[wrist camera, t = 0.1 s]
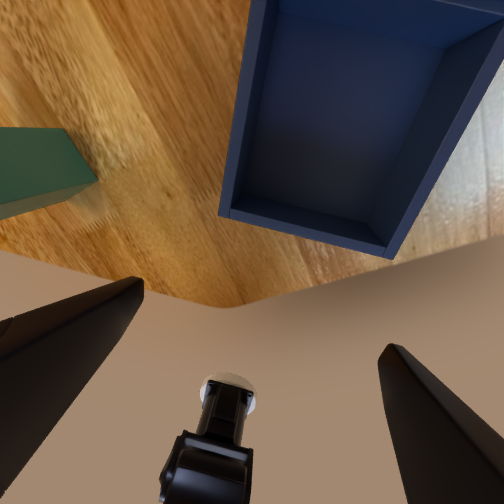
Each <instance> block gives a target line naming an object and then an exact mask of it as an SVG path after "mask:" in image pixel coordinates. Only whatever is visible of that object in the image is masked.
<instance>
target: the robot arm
mask: <svg viewBox="0 0 504 504" xmlns="http://www.w3.org/2000/svg"><path fill="white" fill-rule="evenodd" d="M143 299H144V280H143V279H142V278H138V277H135V276H130V277H127V278H124V279H122V280H119V281H116V282H113V283H110V284H107V285H104V286H101V287H98V288H95V289H93V290H90V291H87V292H84V293H81V294H78V295H75V296H72V297H69V298H66V299H64V300H61V301H58V302H55V303H52V304H49V305H46V306H43V307H40V308H37V309H34V310H32V311H28V312H26V313H23V314H20V315H17V316H15V317H14V318H13V317H11V318H8V319H5V320H2V321H0V498H1V497H2V496H3V494H4V493H5V490H7V489H8V487H9V486H10V485H11V484H12V482H13V481H14V480H15V478H16V477H17V475H18V474H19V473H20V471H21V470H22V469H23V468H24V466H25V465H26V464H27V462H28V461H29V459H30V458H31V457H32V456H33V454H34V453H35V452H36V450H37V449H38V448H39V446H40V445H41V444H42V442H43V441H44V440H45V438H46V437H47V436H48V434H49V433H50V432H51V430H52V429H53V428H54V426H55V425H56V424H57V422H58V421H59V420H60V418H61V417H62V416H63V415H64V413H65V412H66V410H67V409H68V408H69V406H70V405H71V404H72V403H73V401H74V400H75V399H76V397H77V396H78V394H79V393H80V392H81V391H82V389H83V388H84V387H85V385H86V384H87V383H88V381H89V380H90V379H91V377H92V376H93V375H94V373H95V372H96V371H97V369H98V368H99V367H100V365H101V364H102V363H103V361H104V360H105V359H106V357H107V356H108V355H109V353H110V352H111V351H112V350H113V348H114V347H115V345H116V344H117V343H118V341H119V340H120V339H121V337H122V335H123V334H124V332H125V331H126V329H127V327H128V326H129V324H130V322H131V320H132V319H133V317H134V316H135V314H136V312H137V310H138V309H139V307H140V305H141V304H142V302H143ZM378 371H379V378H380V384H381V391H382V398H383V404H384V410H385V414H386V418H387V422H388V427H389V431H390V435H391V438H392V442H393V446H394V450H395V454H396V458H397V462H398V466H399V470H400V474H401V478H402V482H403V486H404V490H405V494H406V498H407V502H408V504H504V439H503V438H502V437H501V436H500V435H499V434H498V433H497V432H496V431H494V429H492V428H491V427H490V426H489V425H488V424H487V423H486V422H485V421H484V420H483V419H481V418H480V417H479V416H478V415H477V414H476V413H475V412H474V411H473V410H472V409H471V408H470V407H468V406H467V405H466V404H465V403H464V402H463V401H462V400H461V399H460V398H459V397H458V396H456V395H455V394H454V393H453V392H452V391H451V390H450V389H449V388H448V387H447V386H445V385H444V384H443V383H442V382H441V381H440V380H439V379H438V378H437V377H436V376H435V375H433V374H432V373H431V372H430V371H429V370H428V369H427V368H426V367H425V366H423V365H422V364H421V363H420V362H419V361H418V360H417V359H416V358H415V357H414V356H413V355H412V354H410V353H409V352H408V351H407V350H406V349H405V348H404V347H403V346H400V345H396V344H393V343H390V344H388V345H387V346H386V348H385V349H384V351H383V352H382V354H381V355H380V357H379V359H378ZM253 397H254V392H253V391H251V390H247V389H243V388H240V387H236V386H233V385H229V384H225V383H222V382H218V381H214V380H208V382H207V385H206V390H205V395H204V400H203V406H202V409H203V411H202V415H201V418H200V421H199V424H198V428H197V431H196V434H194V433H190V432H188V431H187V430H183V433H182V435H181V436H177V438H176V441H175V443H174V446H173V449H172V451H171V453H170V455H169V458H168V460H167V462H166V464H165V466H164V468H163V470H162V472H161V474H160V477H159V481H160V484H161V488H160V492H161V493H160V497H159V502H162V503H163V504H249V502H250V495H251V484H252V465H253V449H252V448H249V449H248V448H245V447H241V440H242V434H243V427H244V421H245V419H246V416H247V414H248V411H249V408H250V405H251V402H252V400H253Z"/></svg>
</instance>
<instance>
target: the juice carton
mask: <svg viewBox="0 0 504 504" xmlns="http://www.w3.org/2000/svg"><path fill="white" fill-rule="evenodd" d="M97 181H98V179H97V178H96V176H95V175H94V173H93V172H92V170H91V169H90V167H89V166H88V164H87V163H86V162H85V160H84V159H83V157H82V156H81V154H80V153H79V151H78V150H77V148H76V147H75V145H74V144H73V143H72V141H71V140H70V138H69V137H68V135H67V134H66V132H65V131H64V129H62V128H23V127H0V220H3V219H6V218H9V217H13V216H16V215H19V214H23V213H26V212H29V211H33V210H36V209H40V208H43V207H46V206H50V205H53V204H56V203H60V202H63V201H65V200H67V199H69V198H70V197H72V196H74V195H75V194H77V193H79V192H80V191H82V190H84V189H85V188H87V187H89V186H90V185H92V184H94V183H95V182H97Z"/></svg>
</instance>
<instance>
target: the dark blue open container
mask: <svg viewBox="0 0 504 504" xmlns="http://www.w3.org/2000/svg"><path fill="white" fill-rule="evenodd" d="M503 60H504V0H251V5H250V12H249V18H248V25H247V31H246V38H245V44H244V50H243V57H242V63H241V70H240V76H239V82H238V89H237V95H236V102H235V108H234V115H233V121H232V127H231V134H230V140H229V147H228V153H227V159H226V166H225V172H224V179H223V185H222V192H221V198H220V204H219V211H218V216H221V217H225V218H229V219H233V220H237V221H241V222H245V223H249V224H252V225H256V226H260V227H264V228H268V229H272V230H276V231H280V232H284V233H288V234H292V235H296V236H300V237H304V238H308V239H312V240H316V241H320V242H324V243H328V244H331V245H335V246H339V247H343V248H347V249H351V250H355V251H359V252H363V253H367V254H371V255H375V256H379V257H383V258H387V259H390V260H393V259H394V257H395V256H396V254H397V252H398V250H399V248H400V247H401V245H402V243H403V241H404V239H405V237H406V236H407V234H408V232H409V230H410V228H411V227H412V225H413V223H414V221H415V219H416V217H417V216H418V214H419V212H420V210H421V208H422V207H423V205H424V203H425V201H426V199H427V198H428V196H429V194H430V192H431V190H432V188H433V187H434V185H435V183H436V181H437V179H438V178H439V176H440V174H441V172H442V170H443V168H444V167H445V165H446V163H447V161H448V159H449V158H450V156H451V154H452V152H453V150H454V149H455V147H456V145H457V143H458V141H459V139H460V138H461V136H462V134H463V132H464V130H465V129H466V127H467V125H468V123H469V121H470V119H471V118H472V116H473V114H474V112H475V110H476V109H477V107H478V105H479V103H480V101H481V100H482V98H483V96H484V94H485V92H486V90H487V89H488V87H489V85H490V83H491V81H492V80H493V78H494V76H495V74H496V72H497V70H498V69H499V67H500V65H501V63H502V61H503Z"/></svg>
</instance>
